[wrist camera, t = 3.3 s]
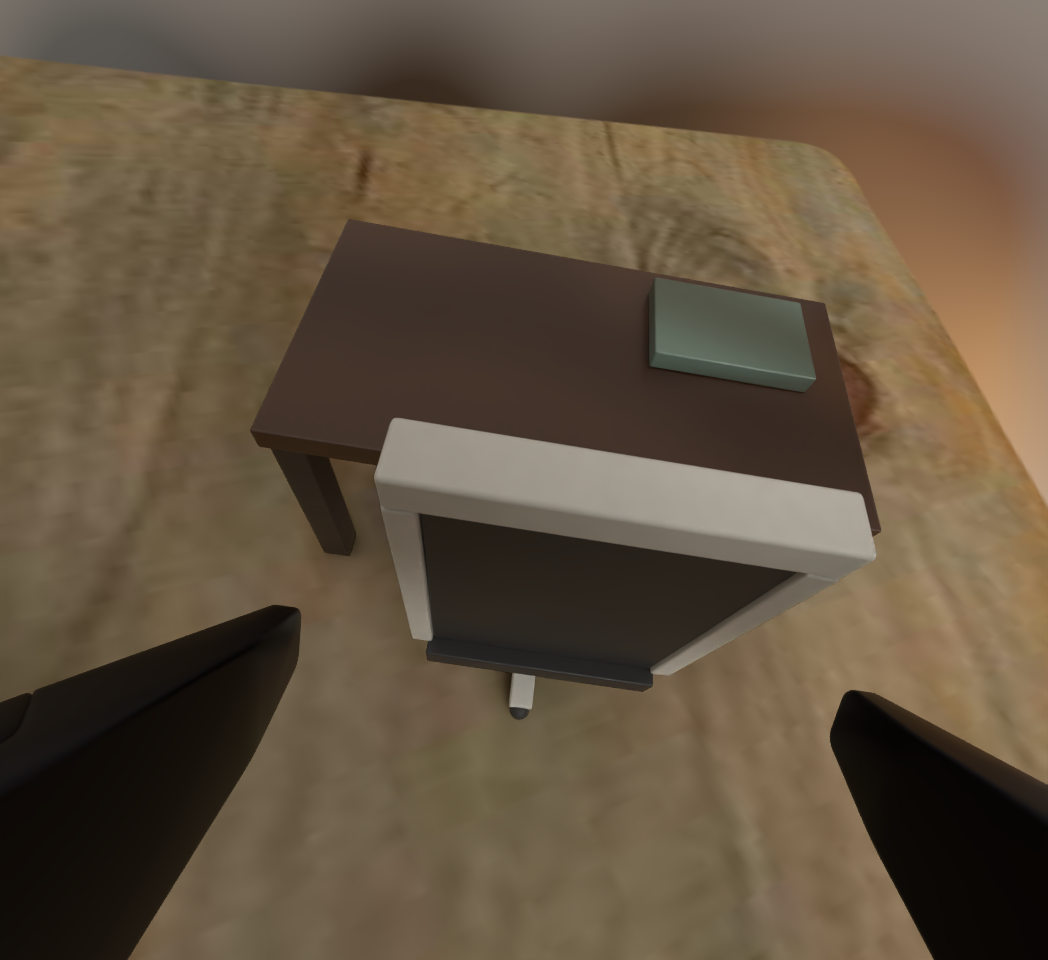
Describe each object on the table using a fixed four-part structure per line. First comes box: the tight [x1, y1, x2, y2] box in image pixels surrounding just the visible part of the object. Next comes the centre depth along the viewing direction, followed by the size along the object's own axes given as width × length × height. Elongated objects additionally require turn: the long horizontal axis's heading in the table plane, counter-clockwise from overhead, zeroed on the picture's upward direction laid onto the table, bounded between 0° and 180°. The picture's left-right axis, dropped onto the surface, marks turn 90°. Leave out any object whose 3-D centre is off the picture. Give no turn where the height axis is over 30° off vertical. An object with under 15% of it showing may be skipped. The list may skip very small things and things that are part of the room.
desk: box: [250, 219, 881, 556], centre depth 18 cm, size 8×15×8 cm, turn 83°
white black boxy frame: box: [374, 418, 876, 720], centre depth 13 cm, size 7×7×12 cm
